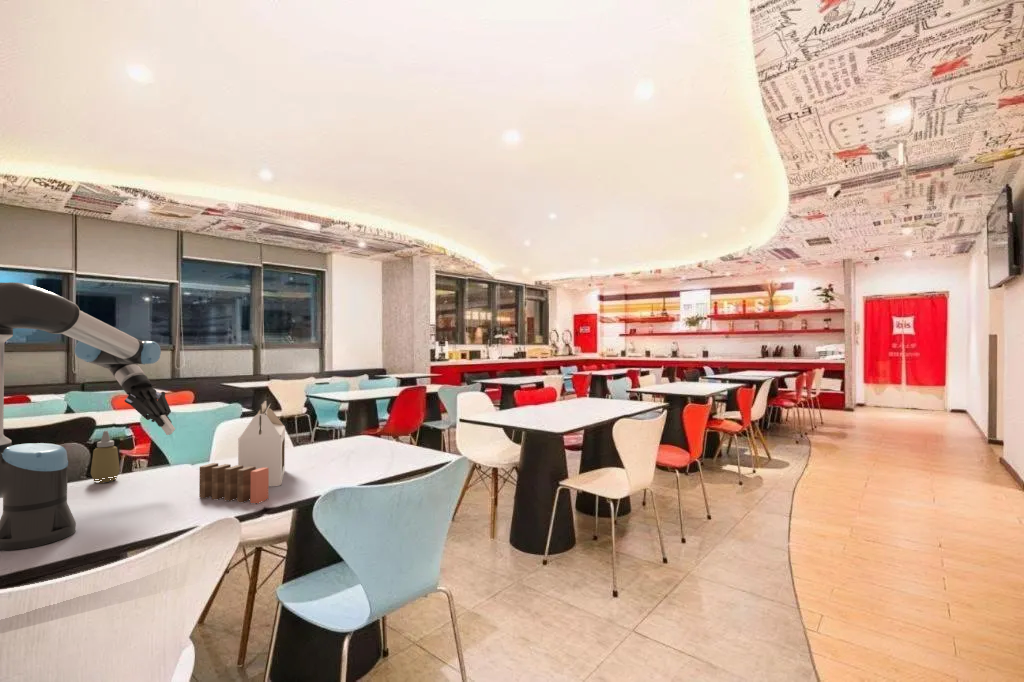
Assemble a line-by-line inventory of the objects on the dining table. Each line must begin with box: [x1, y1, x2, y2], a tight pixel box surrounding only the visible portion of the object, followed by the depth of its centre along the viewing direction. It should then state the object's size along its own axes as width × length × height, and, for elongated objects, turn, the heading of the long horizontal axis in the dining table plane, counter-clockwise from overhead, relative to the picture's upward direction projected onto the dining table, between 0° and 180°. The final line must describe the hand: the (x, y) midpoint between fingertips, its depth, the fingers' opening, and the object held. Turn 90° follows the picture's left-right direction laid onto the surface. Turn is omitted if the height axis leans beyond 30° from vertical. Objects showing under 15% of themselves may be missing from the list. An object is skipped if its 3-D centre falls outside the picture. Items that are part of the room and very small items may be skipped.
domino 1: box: [198, 462, 219, 499], centre depth 158 cm, size 2×5×10 cm, turn 164°
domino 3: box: [223, 464, 243, 502], centre depth 155 cm, size 2×5×10 cm, turn 164°
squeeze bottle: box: [90, 430, 121, 484], centre depth 174 cm, size 8×8×18 cm
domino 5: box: [249, 467, 269, 504], centre depth 153 cm, size 2×5×10 cm, turn 164°
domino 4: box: [236, 466, 256, 503], centre depth 154 cm, size 2×5×10 cm, turn 164°
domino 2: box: [211, 463, 232, 500], centre depth 157 cm, size 2×5×10 cm, turn 164°
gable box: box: [237, 400, 286, 487], centre depth 177 cm, size 22×13×28 cm, turn 22°
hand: (171, 432), depth 163 cm, fingers closed
